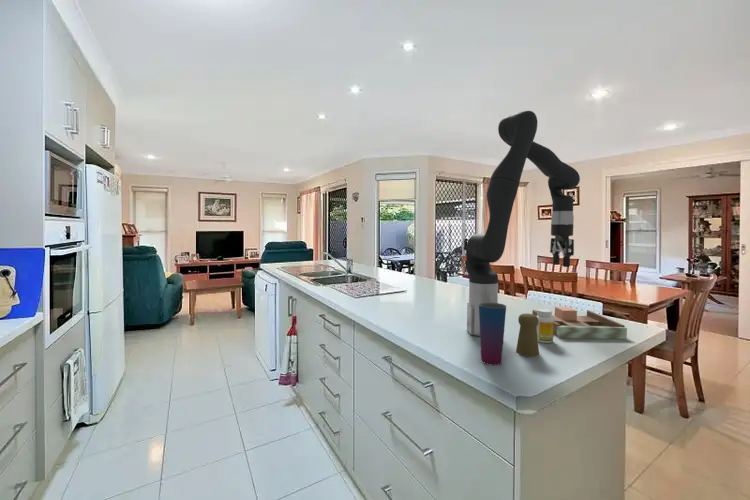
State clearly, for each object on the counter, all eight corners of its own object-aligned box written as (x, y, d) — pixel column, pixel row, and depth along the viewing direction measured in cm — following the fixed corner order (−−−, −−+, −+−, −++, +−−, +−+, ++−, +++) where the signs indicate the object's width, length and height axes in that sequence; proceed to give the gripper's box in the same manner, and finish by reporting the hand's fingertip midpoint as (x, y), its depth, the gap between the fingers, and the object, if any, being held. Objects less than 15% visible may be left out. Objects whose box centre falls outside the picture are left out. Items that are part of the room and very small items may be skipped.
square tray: (558, 337, 110) (558, 325, 110) (532, 320, 131) (532, 310, 131) (626, 338, 109) (627, 326, 109) (589, 321, 130) (589, 310, 130)
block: (562, 320, 124) (562, 310, 124) (554, 315, 130) (554, 306, 130) (576, 320, 124) (577, 310, 124) (568, 316, 130) (568, 306, 130)
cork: (541, 357, 94) (543, 317, 93) (518, 355, 95) (519, 316, 94) (536, 349, 100) (537, 312, 99) (514, 348, 101) (514, 311, 100)
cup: (473, 356, 94) (474, 302, 93) (498, 356, 95) (499, 302, 94) (483, 366, 87) (485, 308, 86) (509, 365, 88) (511, 307, 87)
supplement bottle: (530, 339, 109) (530, 309, 108) (541, 337, 111) (542, 307, 111) (545, 344, 104) (546, 313, 103) (556, 341, 106) (557, 311, 106)
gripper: (544, 223, 139) (543, 263, 140) (560, 223, 125) (559, 267, 126) (563, 223, 138) (562, 263, 139) (582, 223, 124) (580, 267, 125)
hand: (560, 265), depth 133 cm, fingers open, 8 cm apart
